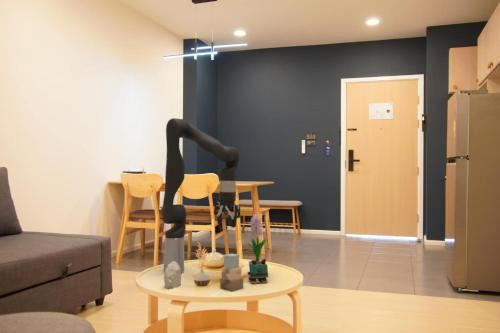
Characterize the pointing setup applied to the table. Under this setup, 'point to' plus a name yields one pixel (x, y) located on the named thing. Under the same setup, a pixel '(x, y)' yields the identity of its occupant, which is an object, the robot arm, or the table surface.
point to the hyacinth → (257, 248)
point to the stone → (172, 275)
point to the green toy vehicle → (258, 272)
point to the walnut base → (231, 284)
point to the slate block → (231, 261)
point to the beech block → (231, 273)
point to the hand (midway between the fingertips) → (226, 226)
